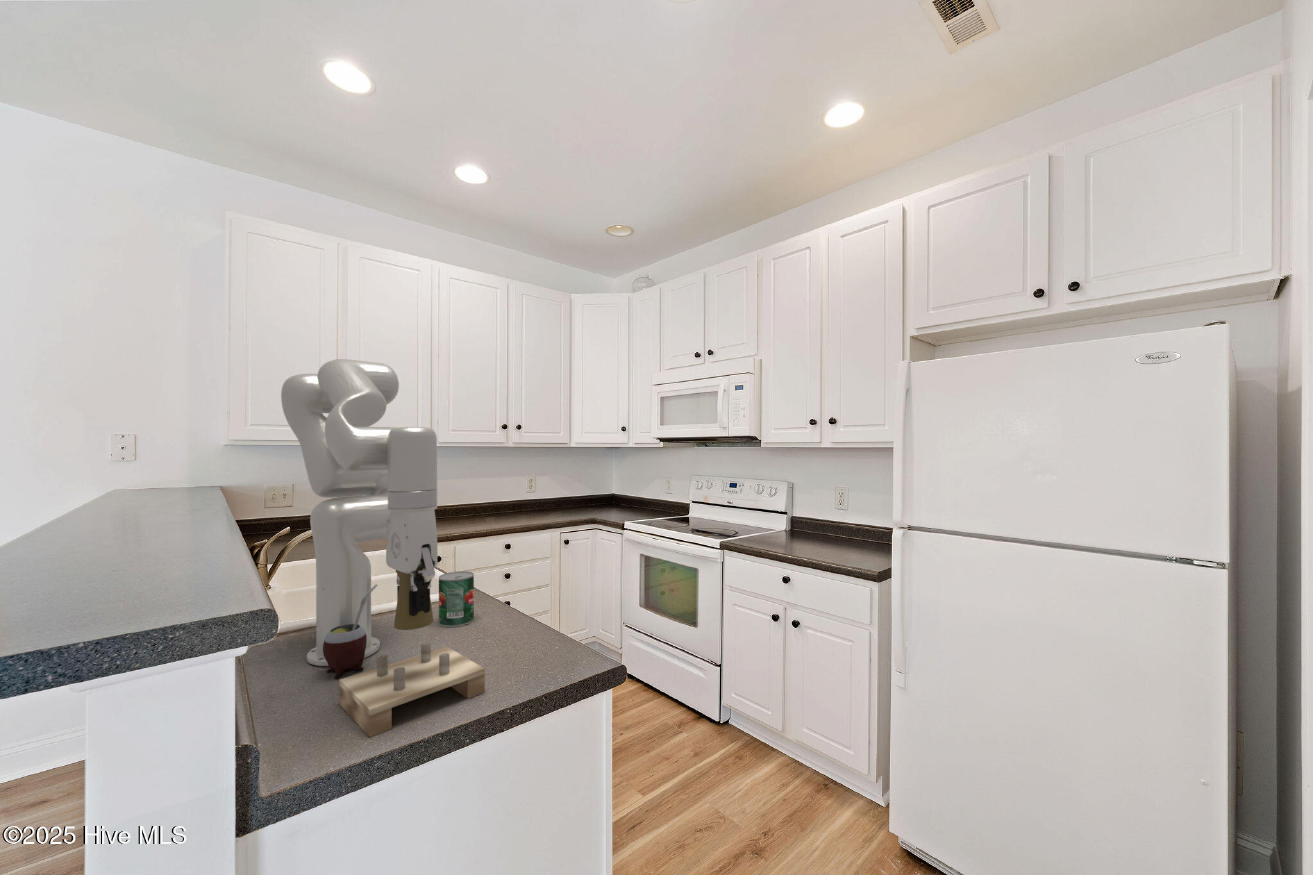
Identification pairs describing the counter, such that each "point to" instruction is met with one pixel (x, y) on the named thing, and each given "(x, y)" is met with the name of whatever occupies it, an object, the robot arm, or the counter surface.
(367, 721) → the wooden board with pegs
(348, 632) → the mate gourd
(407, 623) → the olive chess pawn
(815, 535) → the counter surface
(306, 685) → the counter surface
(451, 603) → the canned tomato
